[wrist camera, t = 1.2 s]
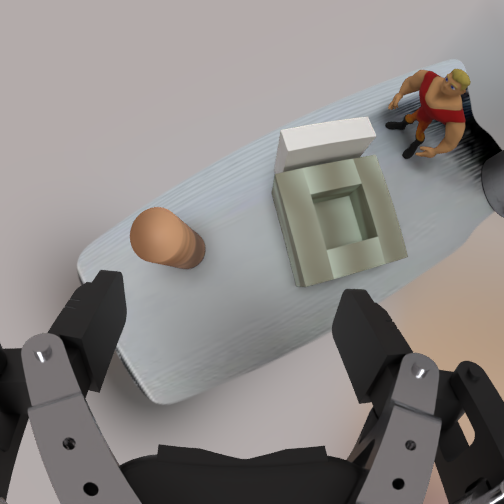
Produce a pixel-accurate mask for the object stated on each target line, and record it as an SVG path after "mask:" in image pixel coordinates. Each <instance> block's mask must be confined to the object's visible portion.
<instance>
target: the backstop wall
mask: <svg viewBox="0 0 504 504" xmlns="http://www.w3.org/2000/svg"><path fill="white" fill-rule="evenodd" d="M375 137H376V134H375V132H374V129H373V127H372V125H371V123H370V120H369V118H368V117H360V118H352V119H344V120H337V121H330V122H324V123H317V124H311V125H305V126H300V127H294V128H289V129H283V130H281V131H280V137H279V143H278V149H277V156H276V162H275V168H274V172H275V174H277V173H282V172H286V171H291V170H296V169H301V168H305V167H310V166H316V165H321V164H326V163H331V162H337V161H342V160H348V159H354V158H359V157H360V156H361V155H362V154H363V152H364V151H365V150H366V149H367V147H368V146H369V145H370V144H371V142H372V141H373V140H374V139H375Z"/></svg>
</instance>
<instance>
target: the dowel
mask: <svg viewBox="0 0 504 504" xmlns="http://www.w3.org/2000/svg"><path fill="white" fill-rule="evenodd" d="M130 242H131V246H132V248H133V250H134V252H135V253H136V254H137V255H138V256H139V257H140V258H141V259H143V260H145V261H148V262H153V263H157V264H162V265H167V266H172V267H177V268H182V269H190V268H193V267H195V266H197V265H198V264H199V263H200V262H201V261H202V259H203V257H204V255H205V244H204V241H203V239H202V238H201V237H200V236H199V235H198V234H197V233H196V232H195V231H194V230H192V229H191V228H190V227H189V226H188V225H186V224H185V223H184V222H183V221H182V220H180V219H179V218H178V217H177V216H176V215H175V214H173V213H172V212H171V211H169V210H167V209H165V208H161V207H154V208H150V209H147V210H145V211H143V212H142V213H141V214H140V215H139V216H138V217H137V218H136V219H135V221H134V222H133V224H132V227H131V231H130Z"/></svg>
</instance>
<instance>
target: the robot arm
mask: <svg viewBox="0 0 504 504" xmlns="http://www.w3.org/2000/svg"><path fill="white" fill-rule="evenodd" d="M482 182H483V187H484V191H485V194H486V197H487V199H488V201H489V203H490V205H491V206H492V208H493V209H494V210H495V211H496V212H497V213H498V214H499V215H500V216H502V217H504V150H503V151H501V152H500V153H498V154H496V155H495V156H493V157H491V158H490V159H488V160H486V162H485V163H484V165H483V168H482ZM126 315H127V308H126V300H125V292H124V283H123V276H122V273H121V272H117V271H108V270H100V271H99V273H98V274H97V276H96V277H95V279H94V280H93V281H92V283H91V282H86V283H85V284H83V285H82V286H80V287H79V288H78V289H76V291H75V292H74V293H73V295H72V296H71V298H70V300H69V301H68V302H67V304H66V305H65V308H63V310H62V311H61V313H60V314H59V316H58V317H57V319H56V320H55V322H54V323H53V325H52V326H51V328H50V330H49V331H48V333H42V334H38V335H35V336H33V337H31V338H30V339H29V340H27V341H26V343H25V344H24V345H23V347H22V348H17V349H3V348H2V346H1V344H0V504H7V502H6V498H7V493H8V488H9V484H10V480H11V475H12V471H13V467H14V464H15V460H16V457H17V453H18V450H19V446H20V443H21V440H22V437H23V433H24V430H25V428H26V425H27V422H28V419H30V422H31V427H32V430H33V433H34V437H35V440H36V443H37V446H38V449H39V452H40V455H41V458H42V460H43V463H44V466H45V468H46V471H47V473H48V476H49V478H50V481H51V483H52V486H53V488H54V490H55V493H56V495H57V497H58V499H59V501H60V503H61V504H423V501H424V498H425V494H426V491H427V488H428V484H429V480H430V476H431V473H432V469H433V464H434V462H435V464H436V467H437V470H438V473H439V475H440V478H441V481H442V484H443V487H444V490H445V493H446V496H447V499H448V502H449V504H504V402H503V400H502V398H501V397H500V395H499V393H498V392H497V390H496V389H495V387H494V385H493V384H492V382H491V380H490V379H489V377H488V376H487V374H486V373H485V371H484V370H483V369H482V368H481V367H480V366H479V365H477V364H476V363H473V362H470V361H463V362H461V363H460V364H459V365H458V367H457V368H456V370H455V371H454V372H451V371H443V370H439V369H438V367H437V365H436V364H435V362H434V361H433V360H431V359H430V358H429V357H427V356H425V355H423V354H419V353H413V351H412V350H411V348H410V347H409V345H408V343H407V342H406V340H405V339H404V337H403V336H402V334H401V332H400V331H399V329H397V327H396V325H395V323H394V322H392V319H391V317H390V316H389V315H388V313H387V311H386V310H385V309H383V308H382V307H381V306H380V305H378V304H377V303H374V301H373V300H372V298H371V297H370V295H369V294H368V292H367V291H366V290H362V289H345V290H344V292H343V294H342V297H341V300H340V303H339V306H338V309H337V312H336V315H335V318H334V321H333V325H332V334H333V338H334V341H335V343H336V346H337V348H338V350H339V353H340V355H341V358H342V361H343V363H344V366H345V368H346V370H347V373H348V375H349V378H350V381H351V383H352V386H353V389H354V391H355V394H356V396H357V399H358V401H359V404H361V403H369V402H372V404H373V408H372V409H371V411H370V412H369V415H368V417H367V420H366V422H365V424H364V427H363V429H362V431H361V434H360V436H359V438H358V440H357V442H356V444H355V447H354V449H353V451H352V452H351V454H350V455H349V457H348V458H347V460H344V459H340V458H336V457H332V456H327V454H326V450H325V446H318V447H308V448H296V449H285V450H282V451H278V452H274V453H271V454H267V455H263V456H259V457H255V458H250V459H239V458H234V457H230V456H226V455H222V454H218V453H214V452H211V451H207V450H203V449H198V448H186V447H176V446H168V445H167V446H166V445H159V446H158V454H157V455H149V456H143V457H139V458H136V459H133V460H130V461H128V462H126V463H124V464H122V465H119V463H118V462H117V460H116V458H115V457H114V455H113V453H112V452H111V450H110V448H109V446H108V444H107V442H106V440H105V439H104V437H103V435H102V433H101V431H100V429H99V427H98V425H97V423H96V421H95V419H94V416H93V414H92V412H91V410H90V408H89V406H88V403H87V401H86V399H85V398H86V395H87V392H88V390H90V391H95V392H100V390H101V386H102V384H103V381H104V378H105V375H106V373H107V370H108V367H109V364H110V361H111V359H112V356H113V354H114V351H115V348H116V346H117V343H118V340H119V338H120V335H121V333H122V330H123V328H124V325H125V322H126ZM464 413H466V415H467V417H468V418H469V421H470V422H471V424H472V427H473V429H474V431H475V439H474V441H473V443H472V444H471V445H470V446H469V445H468V442H467V440H466V438H465V436H464V434H463V431H462V429H461V427H460V425H459V423H458V420H459V419H460V418H461V416H462V415H463V414H464Z"/></svg>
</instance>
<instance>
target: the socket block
mask: <svg viewBox="0 0 504 504" xmlns="http://www.w3.org/2000/svg"><path fill="white" fill-rule="evenodd" d="M272 196H273V200H274V204H275V207H276V211H277V215H278V218H279V222H280V226H281V229H282V233H283V237H284V240H285V244H286V248H287V252H288V256H289V259H290V263H291V267H292V271H293V275H294V279H295V283H296V286H297V287H307V286H311V285H315V284H318V283H322V282H326V281H329V280H333V279H336V278H340V277H343V276H347V275H350V274H354V273H357V272H360V271H364V270H367V269H370V268H374V267H377V266H380V265H384V264H387V263H390V262H393V261H397V260H400V259H403V258H406V257H408V255H407V251H406V248H405V244H404V240H403V236H402V233H401V229H400V226H399V222H398V219H397V216H396V212H395V209H394V206H393V203H392V200H391V197H390V194H389V191H388V188H387V185H386V182H385V179H384V176H383V173H382V171H381V168H380V165H379V163H378V160H377V157H376V155H372V156H366V157H359V158H354V159H348V160H342V161H337V162H331V163H326V164H321V165H316V166H310V167H305V168H301V169H296V170H291V171H286V172H282V173H277V174H275V177H274V183H273V188H272Z"/></svg>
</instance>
